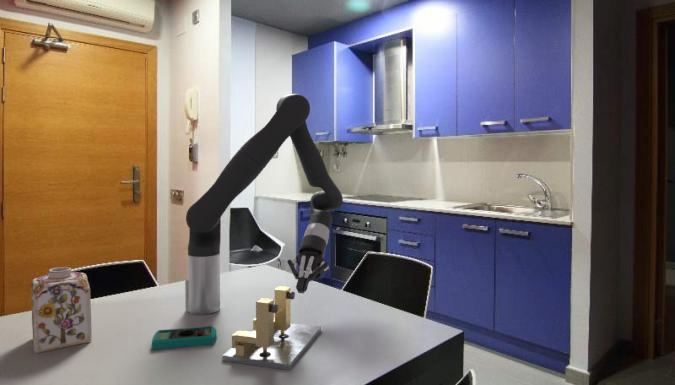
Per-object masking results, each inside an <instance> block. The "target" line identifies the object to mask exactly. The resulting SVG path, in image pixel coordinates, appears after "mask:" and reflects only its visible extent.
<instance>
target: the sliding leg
mask: <svg viewBox="0 0 675 385" xmlns="http://www.w3.org/2000/svg"><path fill="white" fill-rule="evenodd" d="M295 297H296V292H295V291H292V290H291V287H290V286H284V285H283V286H281V285H279V286H277V287H276V288H274V304H276V305H278V306H279V309H278V312H277V313H274V314H275V318H274V327H275V330H281V336H284V331H286V330H287V329H288V328H290V325H291V323H292V322H291V320H292V319H291V311H292V310H291V308H292V307H291V302H292V301H291V300H294V299H295ZM252 325H253V326H252V327H253V328H252V331H254V330H255V329H256V317H255V318H253V320H252Z"/></svg>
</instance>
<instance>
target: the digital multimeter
mask: <svg viewBox="0 0 675 385" xmlns="http://www.w3.org/2000/svg"><path fill="white" fill-rule="evenodd" d="M217 334H218V333H217V329H216V328H215V326H214V325H211V326H210V325H208V326H200V327H187V328H185V327H184V328H175V329H174V328H172V329H159V330H157V331H156V332H155V333H154V335H153V337H152V339H151V350H152V351H159V350H160V351H161V350H167V349H168V350H169V349H177V348H190V347H201V346H202V347H205V346H213V345H214V344H215V343H216V341H217V337H218V336H217Z"/></svg>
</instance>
